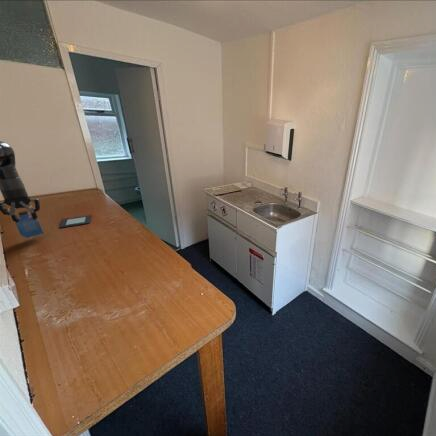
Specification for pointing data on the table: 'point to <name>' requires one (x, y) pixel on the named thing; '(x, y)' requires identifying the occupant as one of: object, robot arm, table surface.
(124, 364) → the table surface
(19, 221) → the perfume bottle
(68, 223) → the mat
